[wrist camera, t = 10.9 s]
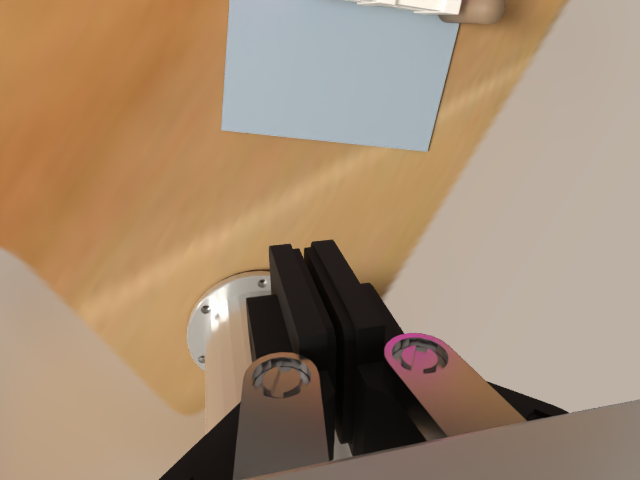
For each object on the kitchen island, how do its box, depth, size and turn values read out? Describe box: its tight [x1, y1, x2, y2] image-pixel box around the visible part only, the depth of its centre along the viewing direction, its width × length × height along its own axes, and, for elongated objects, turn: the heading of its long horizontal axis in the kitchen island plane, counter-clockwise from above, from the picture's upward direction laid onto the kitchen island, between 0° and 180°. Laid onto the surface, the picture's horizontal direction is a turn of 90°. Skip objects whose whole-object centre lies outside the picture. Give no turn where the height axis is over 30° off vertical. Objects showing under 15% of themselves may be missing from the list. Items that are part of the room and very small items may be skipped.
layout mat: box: [221, 0, 460, 152], centre depth 34 cm, size 16×18×1 cm
